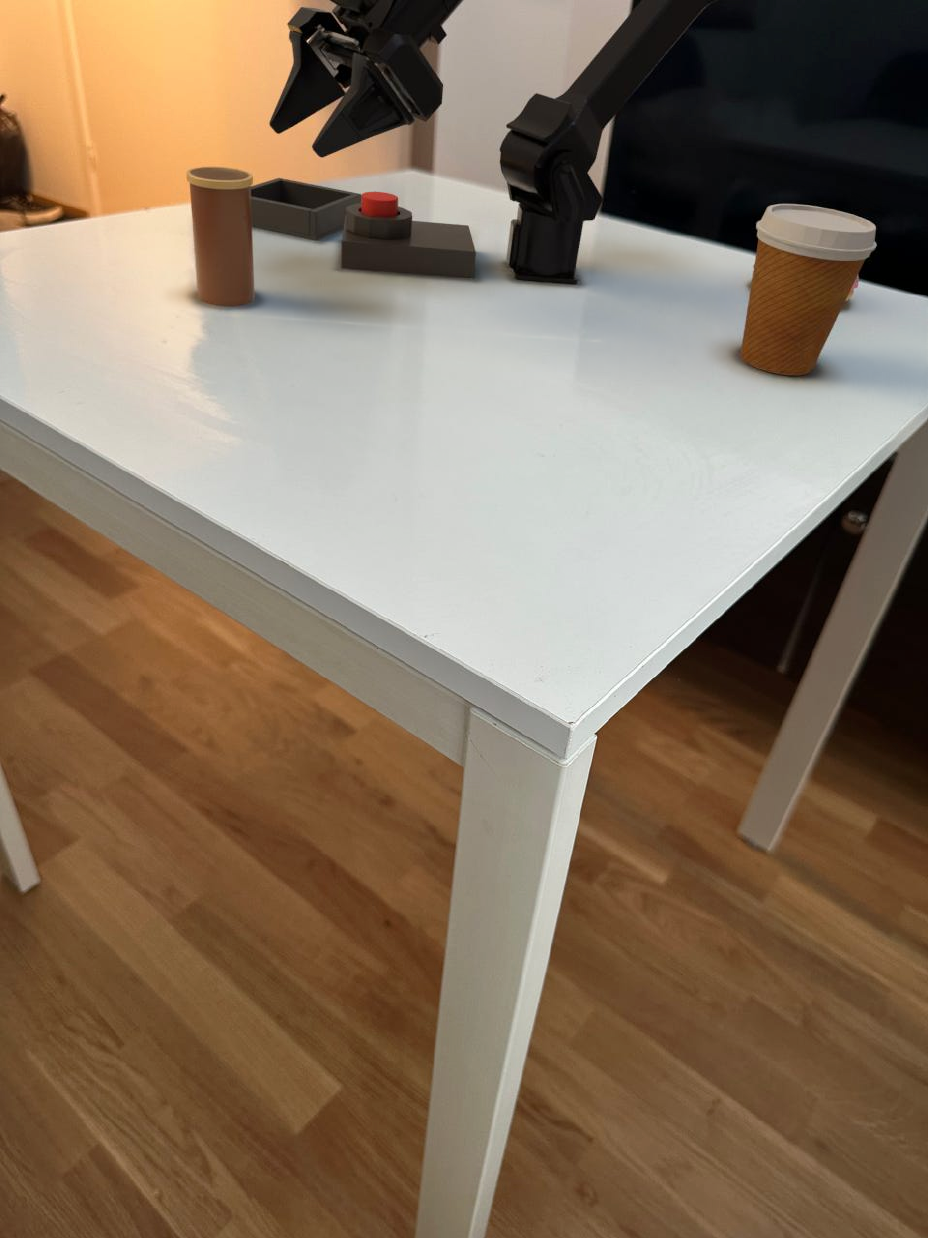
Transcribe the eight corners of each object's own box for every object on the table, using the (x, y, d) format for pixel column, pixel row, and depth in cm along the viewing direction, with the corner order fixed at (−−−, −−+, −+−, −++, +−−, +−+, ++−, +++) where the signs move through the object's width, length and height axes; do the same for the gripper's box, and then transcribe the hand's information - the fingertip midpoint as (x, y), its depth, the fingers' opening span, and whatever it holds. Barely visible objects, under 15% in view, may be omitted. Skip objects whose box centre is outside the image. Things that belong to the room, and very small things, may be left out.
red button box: (466, 251, 100) (470, 207, 97) (473, 279, 92) (477, 232, 89) (344, 241, 98) (345, 196, 95) (341, 269, 90) (342, 220, 88)
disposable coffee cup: (773, 388, 76) (821, 235, 69) (699, 346, 82) (736, 202, 75) (855, 377, 80) (908, 232, 73) (778, 338, 86) (820, 201, 79)
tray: (361, 222, 105) (362, 193, 103) (316, 241, 97) (316, 211, 95) (279, 205, 108) (278, 177, 106) (228, 223, 99) (227, 193, 98)
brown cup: (260, 291, 83) (256, 169, 77) (253, 310, 79) (248, 183, 73) (200, 286, 82) (192, 163, 76) (190, 305, 78) (180, 177, 72)
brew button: (397, 211, 94) (398, 193, 93) (397, 220, 91) (398, 201, 90) (361, 208, 93) (362, 190, 92) (360, 217, 90) (361, 198, 89)
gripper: (310, -113, 75) (184, 39, 76) (419, -105, 62) (267, 76, 64) (391, 10, 83) (277, 145, 84) (502, 39, 71) (365, 196, 72)
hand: (293, 140), depth 76 cm, fingers open, 9 cm apart
